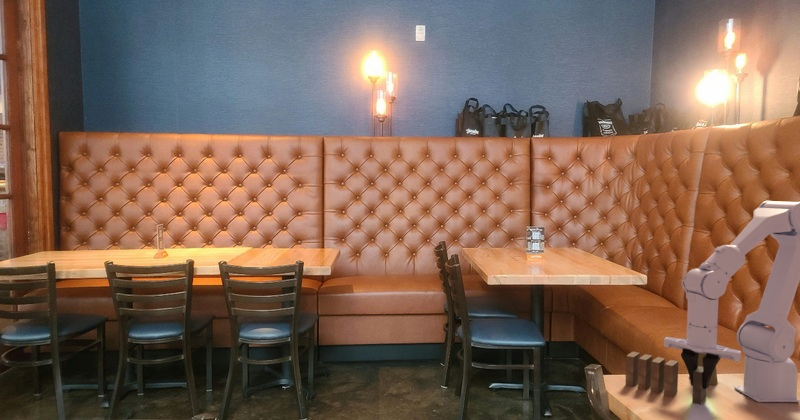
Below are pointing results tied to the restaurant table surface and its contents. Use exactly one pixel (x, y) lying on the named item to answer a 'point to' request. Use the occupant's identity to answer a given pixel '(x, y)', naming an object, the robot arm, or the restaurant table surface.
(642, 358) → the tile
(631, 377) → the tile
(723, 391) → the restaurant table surface
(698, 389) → the tile
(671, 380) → the tile
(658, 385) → the tile
